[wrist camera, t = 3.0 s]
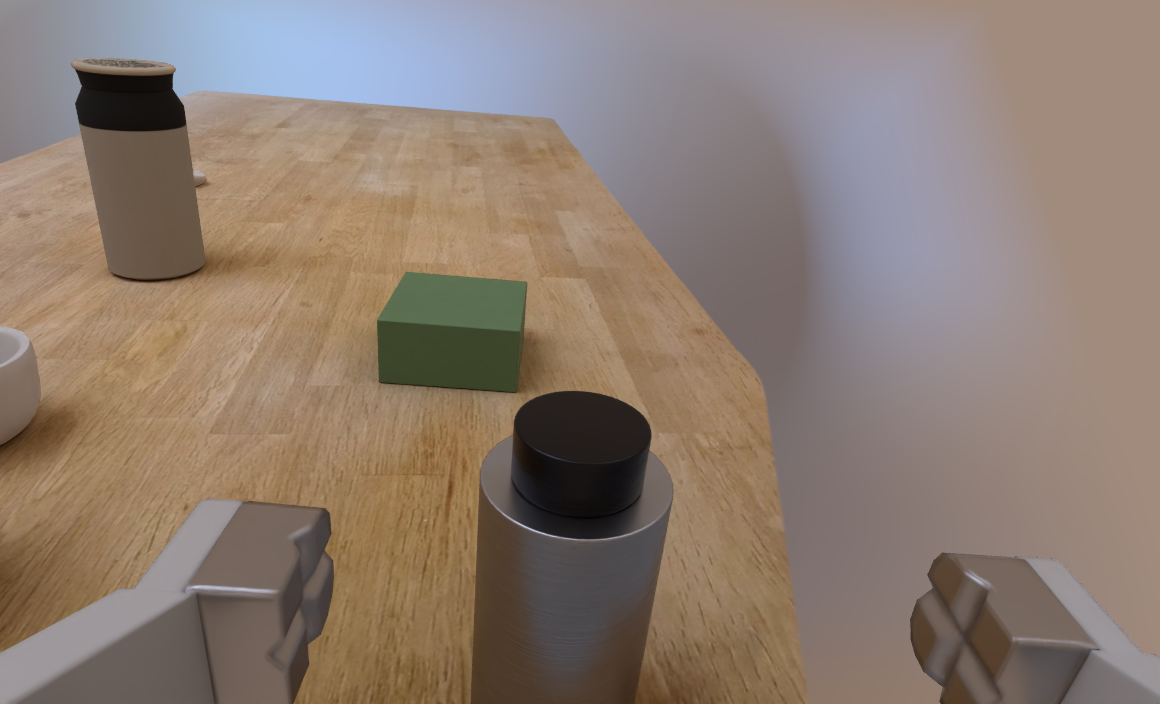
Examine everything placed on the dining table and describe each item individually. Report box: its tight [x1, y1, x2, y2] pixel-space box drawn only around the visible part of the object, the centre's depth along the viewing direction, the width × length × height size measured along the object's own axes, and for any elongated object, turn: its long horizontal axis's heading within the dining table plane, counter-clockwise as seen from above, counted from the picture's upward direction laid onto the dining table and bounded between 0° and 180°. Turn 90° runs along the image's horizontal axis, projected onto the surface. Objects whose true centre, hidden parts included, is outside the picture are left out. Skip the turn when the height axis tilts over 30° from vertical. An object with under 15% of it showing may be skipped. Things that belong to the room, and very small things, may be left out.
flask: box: [471, 391, 673, 704], centre depth 26 cm, size 6×6×14 cm
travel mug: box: [71, 58, 205, 280], centre depth 64 cm, size 8×8×18 cm
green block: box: [377, 272, 527, 392], centre depth 56 cm, size 10×10×5 cm
